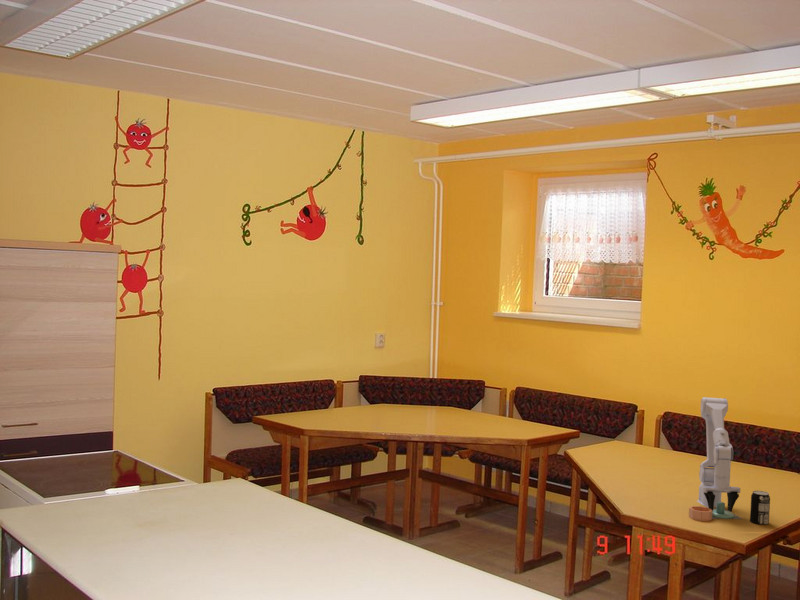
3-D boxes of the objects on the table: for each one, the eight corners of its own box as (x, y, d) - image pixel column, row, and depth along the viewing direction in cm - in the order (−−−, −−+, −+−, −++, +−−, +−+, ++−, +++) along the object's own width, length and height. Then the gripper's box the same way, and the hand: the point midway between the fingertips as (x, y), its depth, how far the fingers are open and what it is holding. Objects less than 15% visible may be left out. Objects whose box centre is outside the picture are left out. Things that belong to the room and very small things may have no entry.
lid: (701, 511, 323) (702, 499, 323) (726, 511, 324) (726, 499, 324) (714, 518, 313) (714, 506, 313) (738, 518, 314) (739, 506, 314)
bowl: (686, 516, 317) (686, 505, 317) (705, 516, 318) (705, 506, 318) (695, 522, 309) (695, 511, 309) (714, 522, 310) (715, 511, 310)
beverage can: (752, 520, 315) (754, 489, 315) (770, 523, 311) (772, 492, 311) (747, 523, 310) (749, 492, 310) (765, 527, 306) (767, 495, 306)
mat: (697, 510, 326) (697, 508, 326) (725, 510, 327) (725, 509, 327) (712, 520, 313) (712, 518, 313) (742, 520, 314) (742, 518, 314)
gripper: (709, 478, 313) (707, 513, 314) (745, 479, 315) (743, 514, 315) (700, 474, 320) (698, 508, 321) (735, 474, 322) (734, 508, 322)
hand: (720, 510), depth 318 cm, fingers open, 7 cm apart
